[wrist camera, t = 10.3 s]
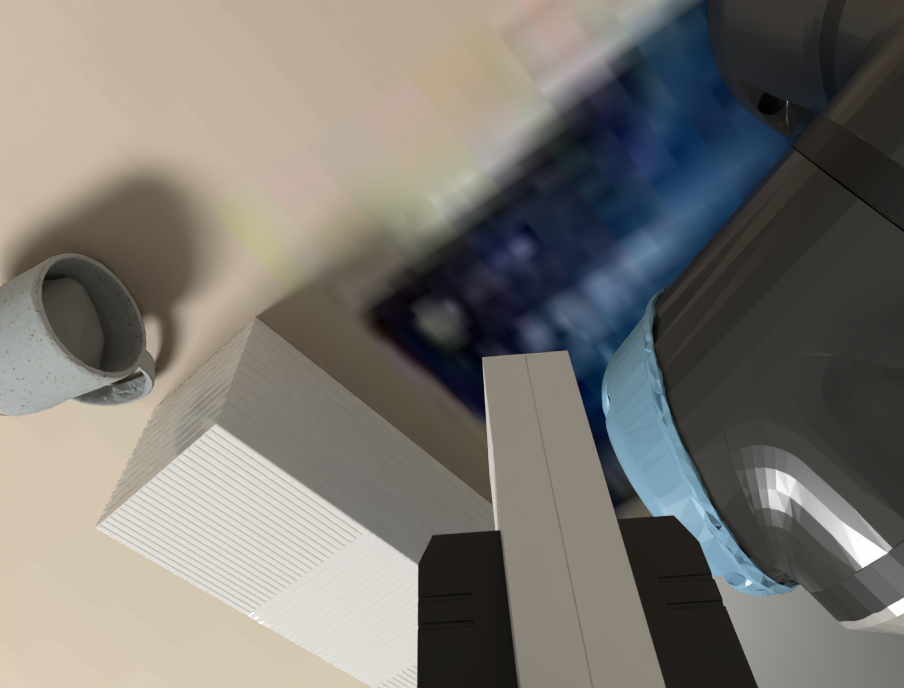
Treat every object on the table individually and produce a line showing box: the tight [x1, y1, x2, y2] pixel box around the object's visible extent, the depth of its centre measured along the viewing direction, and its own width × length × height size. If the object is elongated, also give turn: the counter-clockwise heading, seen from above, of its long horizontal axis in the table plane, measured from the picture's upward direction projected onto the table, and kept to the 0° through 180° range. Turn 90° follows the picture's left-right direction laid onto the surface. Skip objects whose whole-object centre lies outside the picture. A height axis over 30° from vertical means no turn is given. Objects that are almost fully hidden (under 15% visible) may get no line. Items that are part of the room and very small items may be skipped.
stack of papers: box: [95, 317, 495, 688], centre depth 51 cm, size 32×11×11 cm, turn 42°
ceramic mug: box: [0, 253, 155, 416], centre depth 43 cm, size 11×8×8 cm
